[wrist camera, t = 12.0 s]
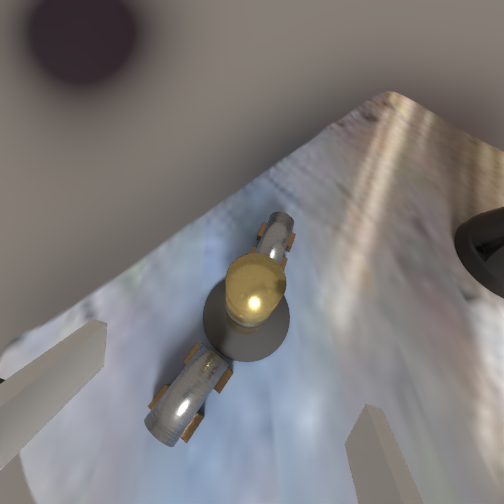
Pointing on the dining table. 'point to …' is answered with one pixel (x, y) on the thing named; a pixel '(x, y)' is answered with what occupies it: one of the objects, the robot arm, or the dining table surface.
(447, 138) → the dining table surface
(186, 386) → the shaft
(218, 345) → the socket pad
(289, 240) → the shaft
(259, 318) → the gold cylinder with ring
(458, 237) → the robot arm
